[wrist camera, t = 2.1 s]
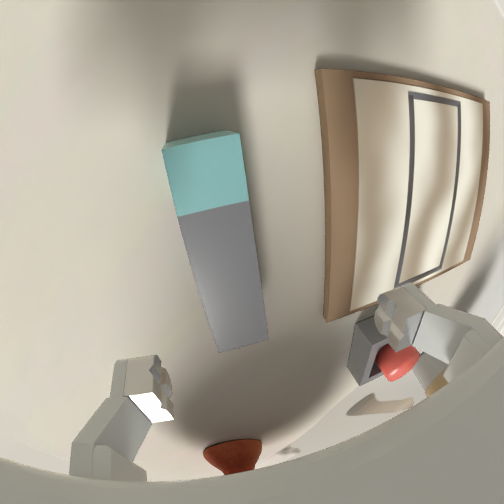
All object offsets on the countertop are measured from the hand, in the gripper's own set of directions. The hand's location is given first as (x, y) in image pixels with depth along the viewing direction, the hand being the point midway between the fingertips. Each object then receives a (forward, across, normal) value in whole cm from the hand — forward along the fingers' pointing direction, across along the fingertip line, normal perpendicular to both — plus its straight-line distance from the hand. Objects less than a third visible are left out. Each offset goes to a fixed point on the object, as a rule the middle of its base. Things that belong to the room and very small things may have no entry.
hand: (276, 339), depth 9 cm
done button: (+7, -13, +15) cm, 21 cm away
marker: (+8, +1, 0) cm, 8 cm away
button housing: (+9, -13, +15) cm, 22 cm away
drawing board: (+9, -16, 0) cm, 18 cm away
